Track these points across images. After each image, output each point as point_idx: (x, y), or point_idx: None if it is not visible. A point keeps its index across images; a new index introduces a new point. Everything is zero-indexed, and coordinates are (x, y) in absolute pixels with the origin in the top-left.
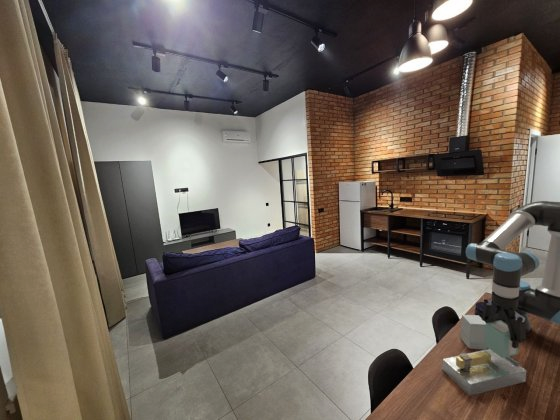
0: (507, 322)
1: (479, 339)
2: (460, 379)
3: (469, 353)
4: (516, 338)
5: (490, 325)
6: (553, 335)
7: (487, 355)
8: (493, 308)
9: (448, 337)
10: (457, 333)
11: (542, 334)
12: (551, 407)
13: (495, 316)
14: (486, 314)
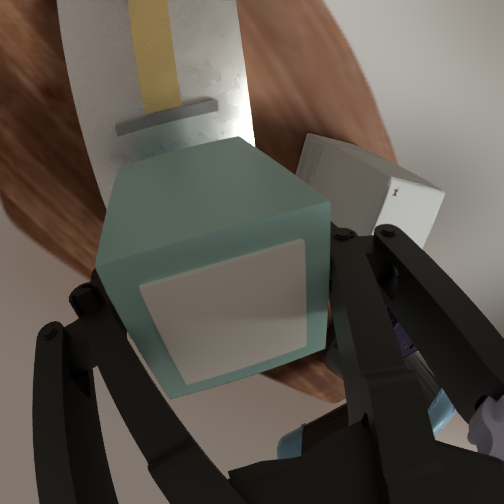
0: (172, 436)
1: (320, 187)
2: None
3: (242, 61)
4: (80, 337)
5: (287, 229)
6: (295, 386)
7: (141, 85)
8: (409, 340)
9: (372, 101)
10: (380, 154)
11: (303, 372)
12: (28, 228)
13: (349, 359)
14: (413, 290)
